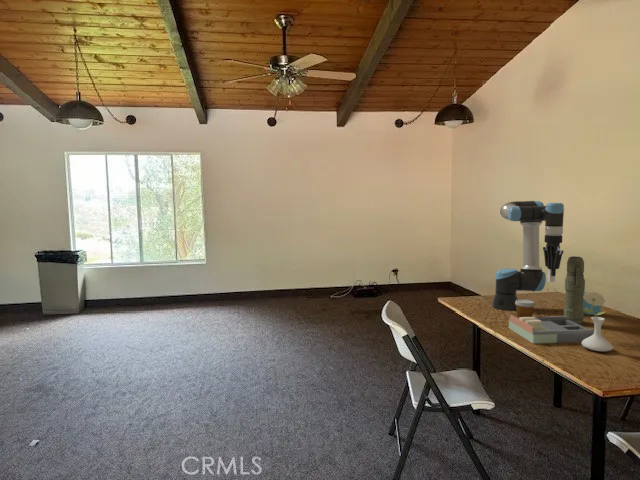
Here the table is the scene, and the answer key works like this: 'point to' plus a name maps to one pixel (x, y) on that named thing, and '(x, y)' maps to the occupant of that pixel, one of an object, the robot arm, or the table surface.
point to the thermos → (574, 290)
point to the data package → (595, 308)
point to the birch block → (532, 322)
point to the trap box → (551, 330)
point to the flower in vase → (596, 325)
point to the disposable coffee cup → (524, 307)
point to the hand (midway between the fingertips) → (551, 281)
